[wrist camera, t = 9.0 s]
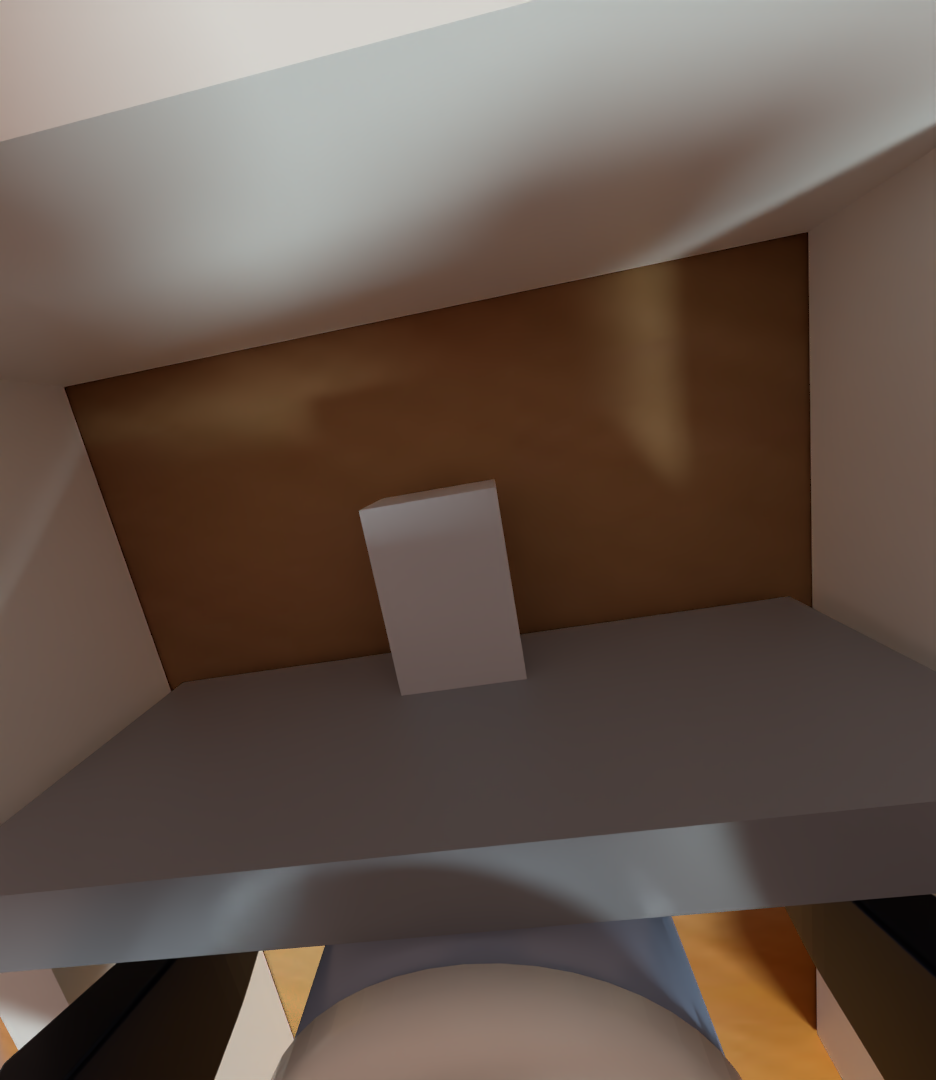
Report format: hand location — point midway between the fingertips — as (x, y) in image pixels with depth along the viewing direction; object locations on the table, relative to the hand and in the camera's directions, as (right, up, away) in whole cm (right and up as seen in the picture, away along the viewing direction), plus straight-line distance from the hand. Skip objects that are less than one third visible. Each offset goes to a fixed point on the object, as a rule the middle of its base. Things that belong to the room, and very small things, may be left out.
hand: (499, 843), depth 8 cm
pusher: (-1, +5, 0) cm, 5 cm away
